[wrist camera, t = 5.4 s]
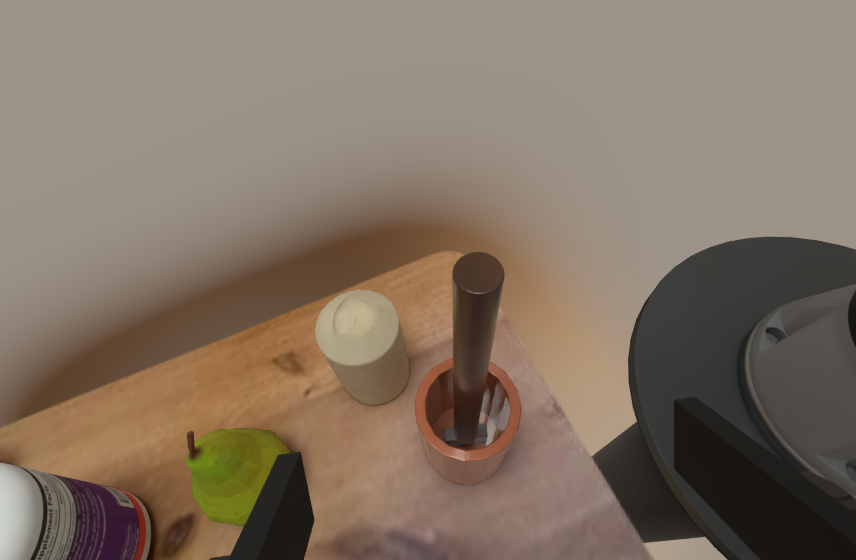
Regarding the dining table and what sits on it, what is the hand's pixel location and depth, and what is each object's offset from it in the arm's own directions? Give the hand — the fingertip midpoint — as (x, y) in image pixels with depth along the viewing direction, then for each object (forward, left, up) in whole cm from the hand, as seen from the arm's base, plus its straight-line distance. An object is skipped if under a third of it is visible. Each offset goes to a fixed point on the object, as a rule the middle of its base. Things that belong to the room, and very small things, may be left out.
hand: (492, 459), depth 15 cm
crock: (0, -5, -18) cm, 18 cm away
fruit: (+15, -4, -18) cm, 24 cm away
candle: (+6, -11, -18) cm, 22 cm away
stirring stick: (0, -5, -17) cm, 18 cm away
